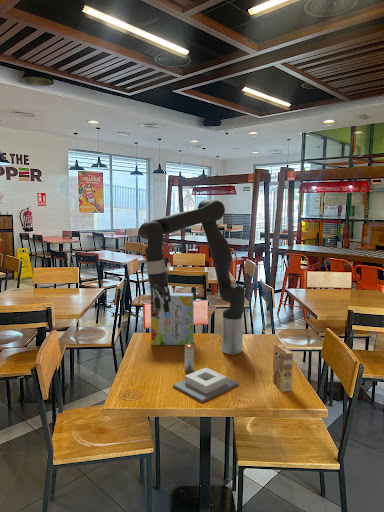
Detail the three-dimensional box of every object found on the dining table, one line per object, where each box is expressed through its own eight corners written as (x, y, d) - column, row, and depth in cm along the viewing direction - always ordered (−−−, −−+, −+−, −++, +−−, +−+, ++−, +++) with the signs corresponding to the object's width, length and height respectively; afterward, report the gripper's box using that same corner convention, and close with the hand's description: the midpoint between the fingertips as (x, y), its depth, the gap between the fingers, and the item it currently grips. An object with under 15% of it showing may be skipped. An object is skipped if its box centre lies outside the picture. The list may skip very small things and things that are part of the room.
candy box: (292, 391, 141) (294, 352, 139) (281, 392, 140) (283, 353, 138) (281, 380, 150) (283, 344, 148) (271, 381, 149) (273, 345, 147)
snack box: (193, 340, 196) (194, 292, 192) (193, 346, 187) (194, 296, 184) (152, 339, 196) (152, 291, 193) (150, 345, 187) (150, 295, 184)
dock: (209, 372, 157) (209, 363, 157) (238, 385, 146) (238, 375, 145) (173, 386, 143) (173, 377, 143) (202, 402, 132) (202, 392, 131)
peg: (189, 367, 162) (189, 343, 160) (195, 370, 159) (196, 345, 157) (182, 370, 159) (182, 345, 157) (188, 373, 156) (189, 347, 155)
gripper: (172, 271, 144) (178, 311, 146) (158, 268, 157) (163, 305, 159) (155, 274, 141) (161, 315, 143) (141, 271, 153) (147, 309, 155)
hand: (162, 310), depth 151 cm, fingers open, 8 cm apart
